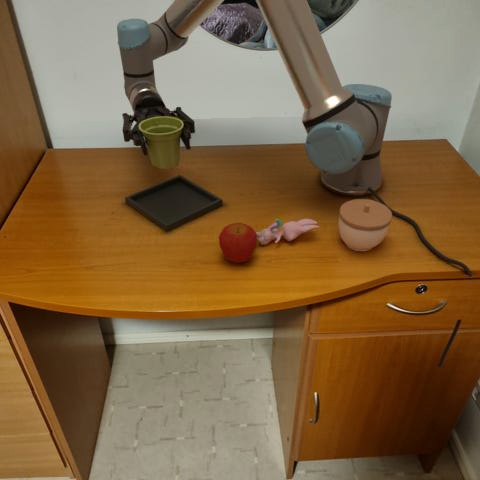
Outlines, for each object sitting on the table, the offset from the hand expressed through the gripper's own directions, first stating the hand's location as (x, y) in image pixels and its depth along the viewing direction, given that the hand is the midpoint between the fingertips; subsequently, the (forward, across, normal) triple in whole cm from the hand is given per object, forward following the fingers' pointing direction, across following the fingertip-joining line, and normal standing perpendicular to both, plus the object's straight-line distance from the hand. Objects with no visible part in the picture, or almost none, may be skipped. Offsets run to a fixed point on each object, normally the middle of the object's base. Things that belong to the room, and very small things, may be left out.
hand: (166, 146), depth 100 cm
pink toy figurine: (+16, -21, -17) cm, 32 cm away
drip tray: (-5, -1, -17) cm, 18 cm away
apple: (+19, -9, -17) cm, 28 cm away
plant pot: (-5, 0, -6) cm, 8 cm away
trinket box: (+22, -36, -17) cm, 46 cm away
